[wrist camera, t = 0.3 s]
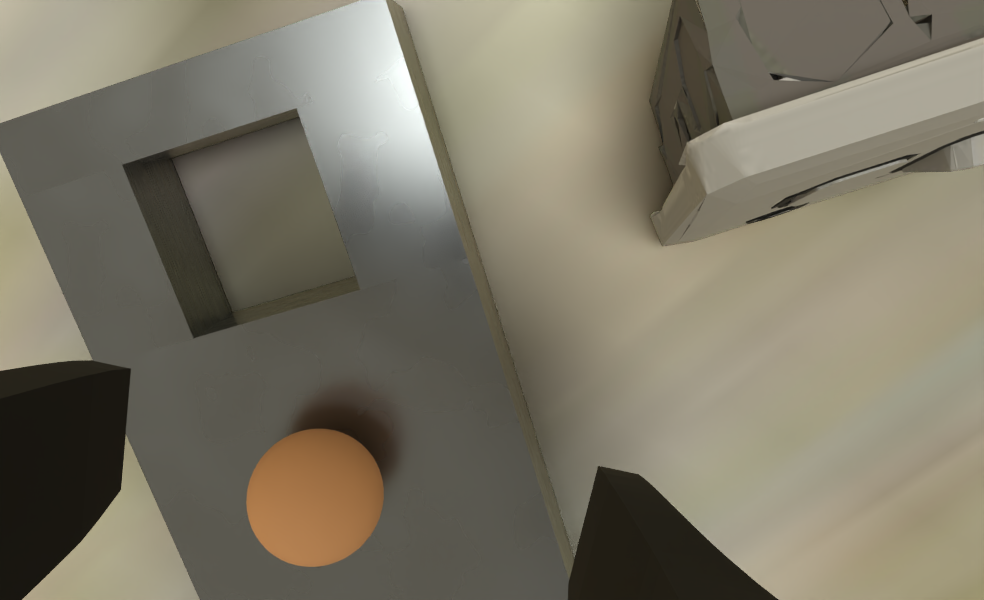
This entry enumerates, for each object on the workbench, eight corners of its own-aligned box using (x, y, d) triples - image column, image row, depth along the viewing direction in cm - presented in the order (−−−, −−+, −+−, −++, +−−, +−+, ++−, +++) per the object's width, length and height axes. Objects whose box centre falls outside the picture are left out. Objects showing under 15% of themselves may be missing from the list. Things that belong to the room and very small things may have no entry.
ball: (410, 504, 20) (388, 577, 17) (298, 533, 20) (255, 610, 17) (371, 394, 19) (339, 449, 16) (255, 425, 19) (202, 486, 16)
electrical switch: (654, 249, 20) (739, 302, 11) (598, 61, 20) (640, -47, 10) (1011, 137, 19) (1435, 93, 10) (964, -66, 19) (1369, -312, 9)
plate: (588, 604, 23) (595, 662, 21) (287, 673, 24) (261, 735, 22) (402, 7, 19) (383, -8, 17) (54, 125, 20) (-11, 127, 18)
